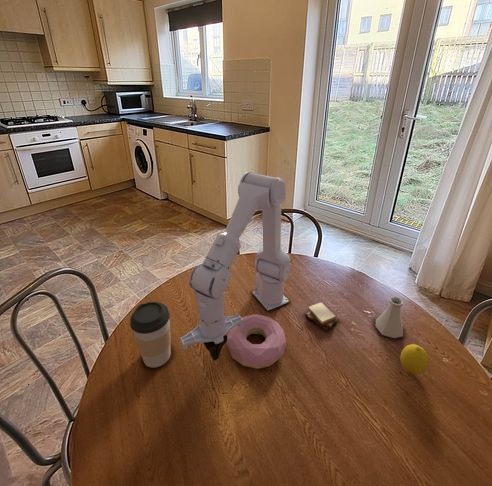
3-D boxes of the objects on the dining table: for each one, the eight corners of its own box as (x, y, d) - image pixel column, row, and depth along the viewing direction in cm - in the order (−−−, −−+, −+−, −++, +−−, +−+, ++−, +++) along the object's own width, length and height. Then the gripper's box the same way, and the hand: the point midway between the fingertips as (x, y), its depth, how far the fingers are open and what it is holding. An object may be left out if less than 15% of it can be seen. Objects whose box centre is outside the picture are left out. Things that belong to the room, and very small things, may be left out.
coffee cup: (182, 347, 76) (176, 303, 70) (159, 377, 69) (150, 330, 63) (155, 336, 80) (147, 293, 74) (130, 363, 72) (119, 317, 66)
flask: (397, 319, 85) (405, 292, 80) (407, 339, 78) (416, 311, 74) (371, 317, 85) (377, 290, 81) (379, 337, 79) (387, 309, 74)
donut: (215, 353, 75) (214, 338, 73) (247, 316, 86) (247, 303, 84) (267, 385, 67) (268, 370, 65) (295, 340, 78) (297, 326, 76)
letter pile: (302, 316, 86) (303, 310, 85) (317, 306, 90) (318, 300, 89) (325, 334, 80) (326, 327, 79) (340, 321, 84) (341, 315, 83)
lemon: (420, 364, 71) (429, 341, 68) (425, 385, 67) (434, 361, 63) (395, 358, 73) (403, 334, 70) (398, 377, 68) (406, 353, 65)
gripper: (185, 339, 58) (191, 384, 64) (248, 313, 64) (248, 356, 70) (175, 316, 64) (181, 359, 69) (234, 294, 70) (235, 335, 76)
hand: (214, 356), depth 70 cm, fingers closed
